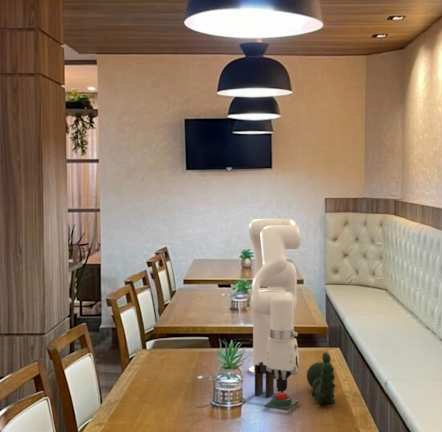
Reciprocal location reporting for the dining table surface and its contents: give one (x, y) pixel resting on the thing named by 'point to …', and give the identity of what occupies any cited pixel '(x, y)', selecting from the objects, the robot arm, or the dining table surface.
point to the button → (281, 395)
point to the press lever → (264, 370)
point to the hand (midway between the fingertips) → (281, 390)
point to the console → (281, 403)
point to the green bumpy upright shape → (322, 380)
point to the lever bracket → (260, 382)
